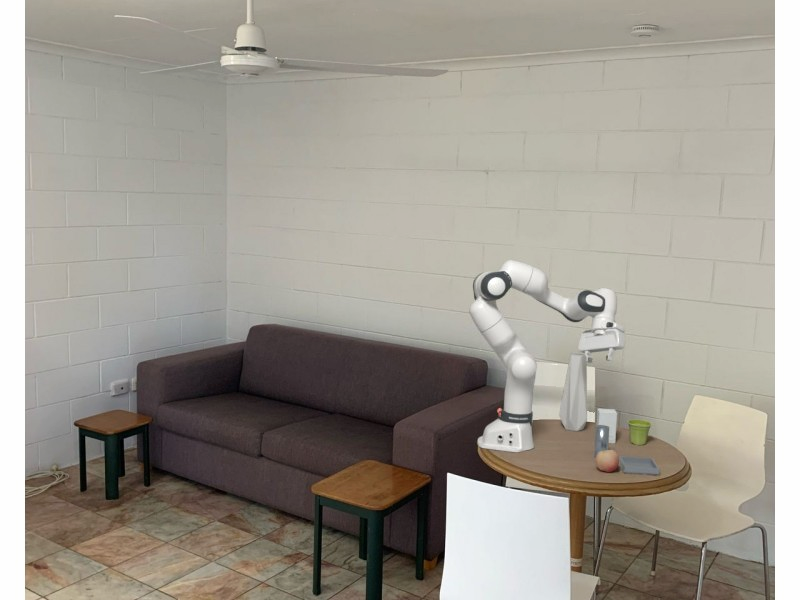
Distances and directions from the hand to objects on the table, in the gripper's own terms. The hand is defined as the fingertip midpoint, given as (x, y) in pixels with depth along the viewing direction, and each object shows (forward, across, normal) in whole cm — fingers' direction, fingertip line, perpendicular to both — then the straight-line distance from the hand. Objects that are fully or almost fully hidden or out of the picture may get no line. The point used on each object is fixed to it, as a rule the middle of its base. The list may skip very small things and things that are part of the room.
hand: (598, 361), depth 295 cm
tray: (+39, +14, +12) cm, 43 cm away
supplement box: (+25, -14, +27) cm, 39 cm away
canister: (+35, -2, +10) cm, 37 cm away
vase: (+20, -31, +27) cm, 46 cm away
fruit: (+43, +9, +1) cm, 44 cm away
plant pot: (+23, -5, +36) cm, 43 cm away
